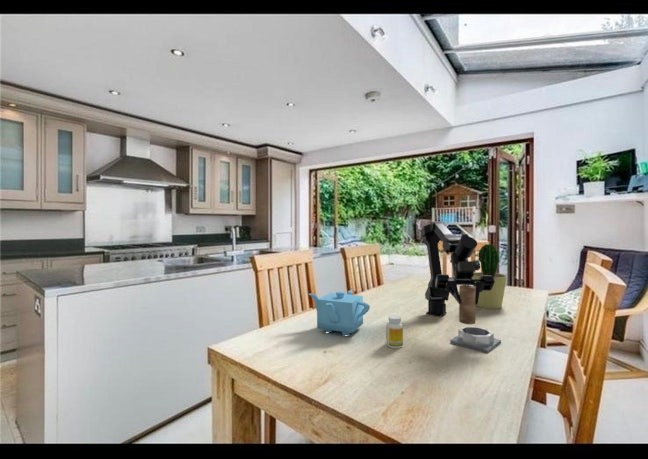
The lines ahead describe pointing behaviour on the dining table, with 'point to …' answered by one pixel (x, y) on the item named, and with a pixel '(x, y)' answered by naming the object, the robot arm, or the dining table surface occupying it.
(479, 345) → the dock
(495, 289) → the potted cactus
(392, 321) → the supplement bottle
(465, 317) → the peg
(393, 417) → the dining table surface
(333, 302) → the teakettle
